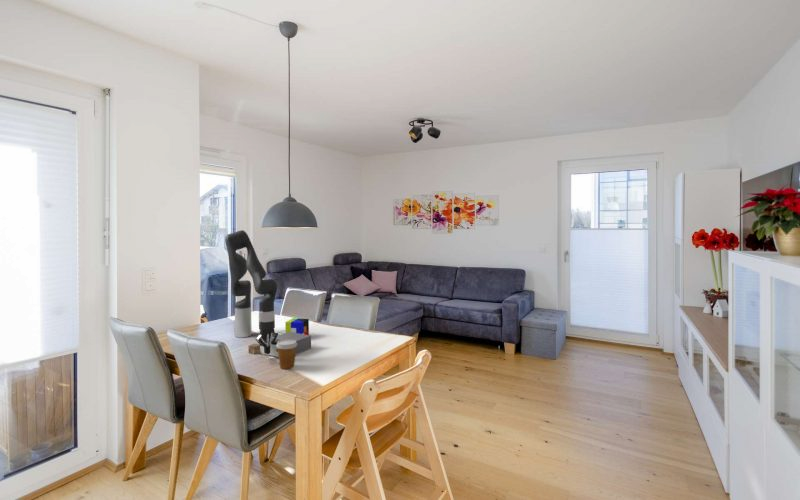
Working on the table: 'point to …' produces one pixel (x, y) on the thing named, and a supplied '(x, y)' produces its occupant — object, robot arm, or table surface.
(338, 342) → the table surface
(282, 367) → the disposable coffee cup
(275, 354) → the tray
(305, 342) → the block
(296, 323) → the puzzle toy
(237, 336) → the robot arm
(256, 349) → the walnut block
